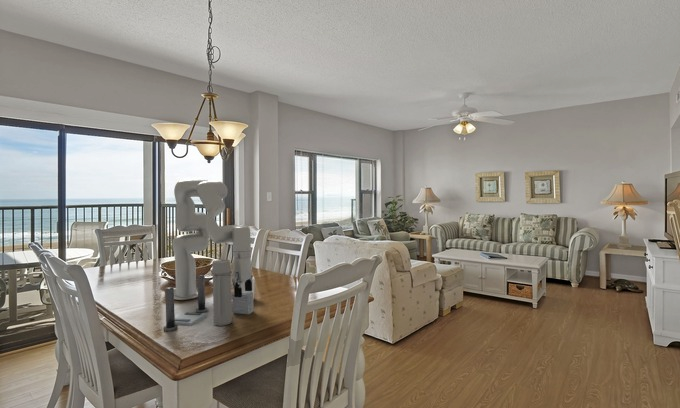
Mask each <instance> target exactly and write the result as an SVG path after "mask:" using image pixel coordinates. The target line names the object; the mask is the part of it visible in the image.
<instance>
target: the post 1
mask: <svg viewBox="0 0 680 408" xmlns="http://www.w3.org/2000/svg"><path fill="white" fill-rule="evenodd" d="M174 288H175V287H173V286H170V287H165V288H164V294H165V295H164V300H165V325H164V326H163V330H164V331H163V332H165V331H166V332H165V333H167V332H168V331H171V332H175V331H177V330H178V329H179V325H178V324H175V317H176V315H175V313H176V312H175V299H174ZM174 330H175V331H174ZM168 333H169V332H168Z"/></svg>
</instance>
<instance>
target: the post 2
mask: <svg viewBox="0 0 680 408" xmlns="http://www.w3.org/2000/svg"><path fill="white" fill-rule="evenodd" d="M205 279H206V278H205V274H198V275H196V285H197V292H198V297H197V306H198V307H197V308H196V309H195V313H207V312H208V311H209V308H208V307H206V285H205V284H206V281H205Z"/></svg>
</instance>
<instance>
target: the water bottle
mask: <svg viewBox="0 0 680 408" xmlns="http://www.w3.org/2000/svg"><path fill="white" fill-rule="evenodd" d="M211 267H212V268H211V273H210V275H211V276H212V299H213V301H212V302H213V307H212V308H213V324H214V325H215V326H218V327H222V326H228V325H230V324H231V323H233V297H232V268H231V263H230V260H229V259H217V260H213V261H212V266H211Z"/></svg>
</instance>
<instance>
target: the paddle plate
mask: <svg viewBox="0 0 680 408" xmlns="http://www.w3.org/2000/svg"><path fill="white" fill-rule="evenodd" d="M206 317H208V313H207V312H205V313H196V312H189V311H188V312H185V311H184V312H181V313H180V314H178V315H175V324H176V325H178V326H179V325H182V326H192V325H194V324H196V323H197V322H200V321H201V320H203V319H204V318H206Z"/></svg>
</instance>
